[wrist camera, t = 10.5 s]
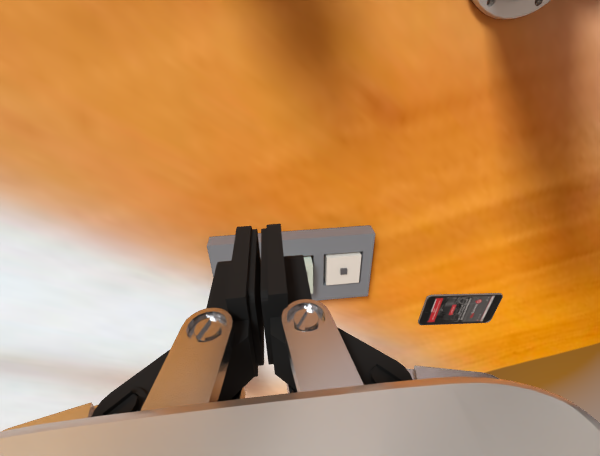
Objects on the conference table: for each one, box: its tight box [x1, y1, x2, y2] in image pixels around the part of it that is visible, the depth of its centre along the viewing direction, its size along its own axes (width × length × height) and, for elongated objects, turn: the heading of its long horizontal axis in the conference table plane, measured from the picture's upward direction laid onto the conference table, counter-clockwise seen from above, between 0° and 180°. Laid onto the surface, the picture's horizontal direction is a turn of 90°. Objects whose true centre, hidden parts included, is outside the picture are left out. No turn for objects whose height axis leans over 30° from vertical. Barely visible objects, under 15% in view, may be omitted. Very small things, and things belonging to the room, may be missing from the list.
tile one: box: [324, 252, 361, 285], centre depth 47 cm, size 5×5×3 cm
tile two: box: [304, 256, 313, 294], centre depth 45 cm, size 5×5×3 cm
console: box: [207, 225, 375, 301], centre depth 47 cm, size 24×12×2 cm, turn 91°
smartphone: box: [418, 293, 503, 325], centre depth 57 cm, size 7×1×15 cm
